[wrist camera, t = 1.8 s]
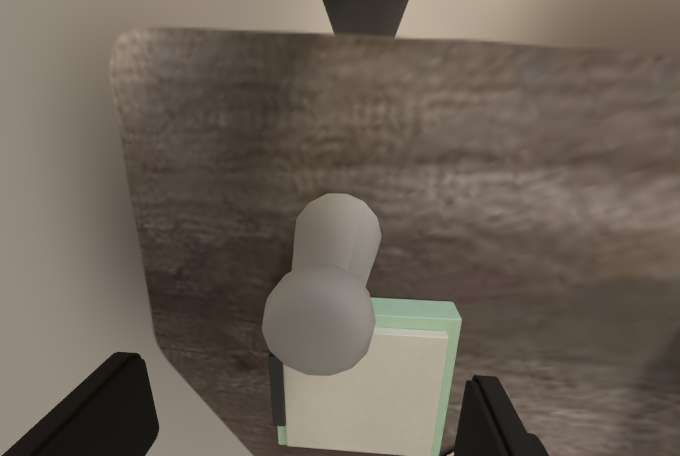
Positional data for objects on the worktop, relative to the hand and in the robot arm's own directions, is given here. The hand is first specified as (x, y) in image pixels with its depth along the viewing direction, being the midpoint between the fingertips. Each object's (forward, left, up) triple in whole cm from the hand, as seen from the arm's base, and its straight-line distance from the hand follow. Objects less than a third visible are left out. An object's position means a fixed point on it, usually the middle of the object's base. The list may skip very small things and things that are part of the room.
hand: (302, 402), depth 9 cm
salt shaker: (0, 0, -15) cm, 15 cm away
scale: (+13, +2, -15) cm, 20 cm away
